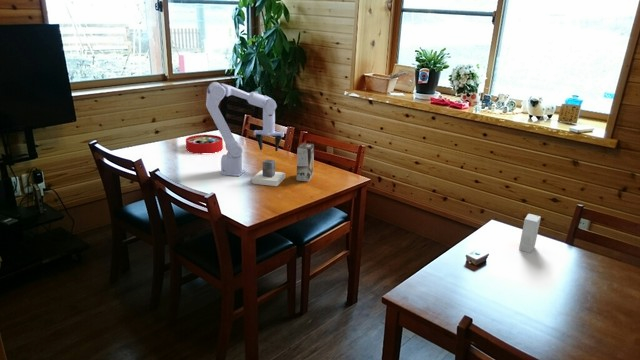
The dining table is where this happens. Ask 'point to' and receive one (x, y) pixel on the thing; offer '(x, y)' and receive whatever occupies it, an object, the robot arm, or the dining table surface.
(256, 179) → the plinth
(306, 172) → the coffee box
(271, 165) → the block
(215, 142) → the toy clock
